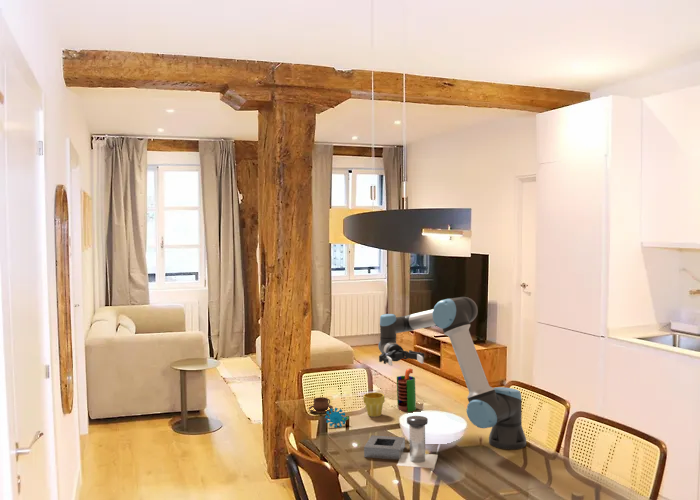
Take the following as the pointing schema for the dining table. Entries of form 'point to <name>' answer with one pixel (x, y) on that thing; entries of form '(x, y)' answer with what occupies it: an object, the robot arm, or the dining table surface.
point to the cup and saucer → (321, 405)
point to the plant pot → (374, 403)
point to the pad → (428, 463)
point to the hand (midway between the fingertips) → (407, 361)
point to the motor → (406, 392)
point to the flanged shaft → (417, 438)
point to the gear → (336, 417)
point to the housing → (384, 447)
